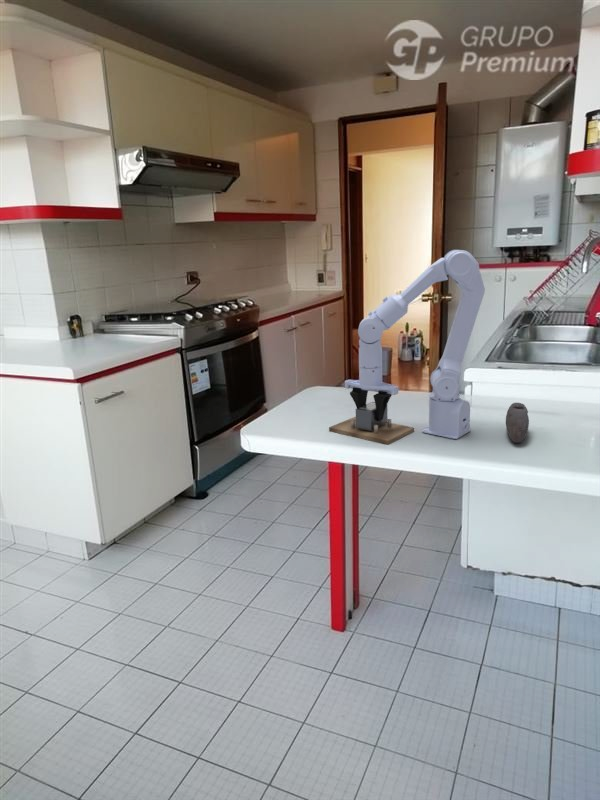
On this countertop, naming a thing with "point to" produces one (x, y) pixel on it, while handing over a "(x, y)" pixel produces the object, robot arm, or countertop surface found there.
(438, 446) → the countertop surface
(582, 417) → the countertop surface
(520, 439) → the perforated stone tool
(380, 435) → the pin tray
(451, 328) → the robot arm
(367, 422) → the block
